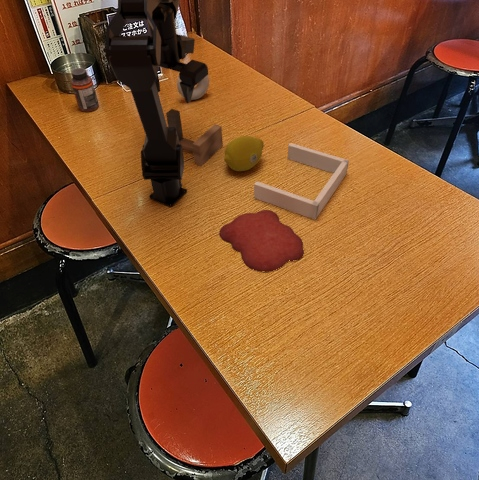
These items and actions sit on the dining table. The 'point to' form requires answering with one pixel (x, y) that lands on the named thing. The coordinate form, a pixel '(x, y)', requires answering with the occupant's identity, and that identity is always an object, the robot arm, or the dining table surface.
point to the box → (298, 202)
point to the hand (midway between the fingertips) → (173, 97)
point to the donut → (196, 88)
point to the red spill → (262, 240)
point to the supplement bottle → (84, 90)
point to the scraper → (203, 145)
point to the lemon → (243, 153)
